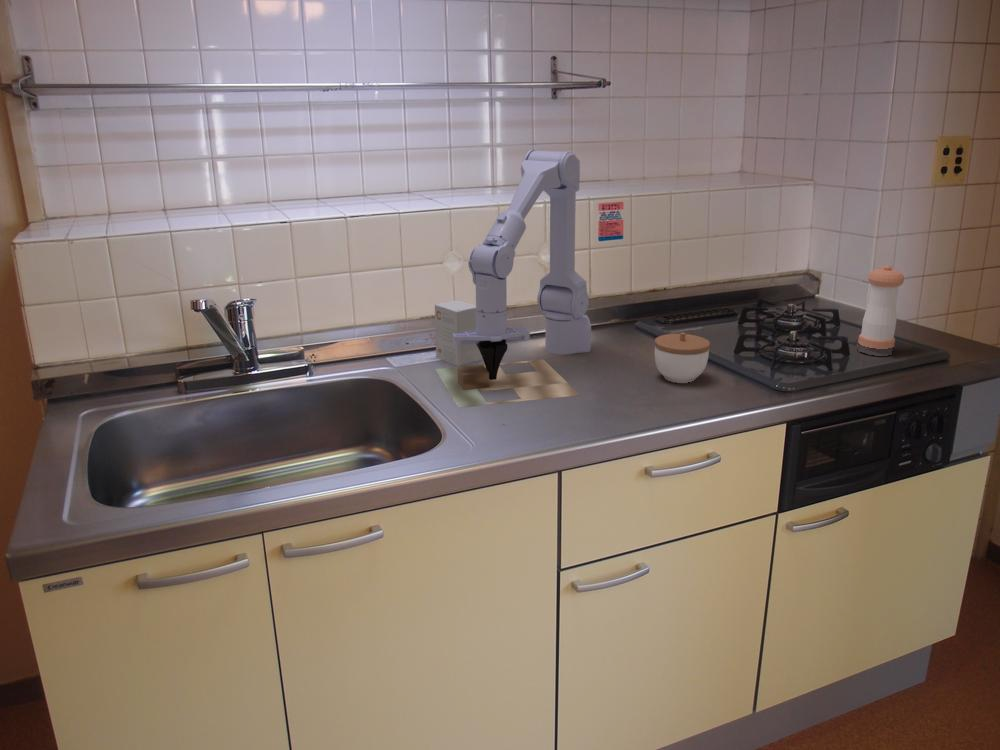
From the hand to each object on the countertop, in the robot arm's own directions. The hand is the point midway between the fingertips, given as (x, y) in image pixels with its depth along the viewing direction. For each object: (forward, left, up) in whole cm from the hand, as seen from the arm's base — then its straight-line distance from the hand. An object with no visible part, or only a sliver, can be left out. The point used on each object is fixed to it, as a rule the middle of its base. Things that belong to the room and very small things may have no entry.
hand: (491, 378), depth 157 cm
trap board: (-3, 0, -2) cm, 3 cm away
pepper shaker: (-87, -1, -3) cm, 87 cm away
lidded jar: (-38, +3, -3) cm, 38 cm away
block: (+4, 0, -1) cm, 4 cm away
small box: (+3, -17, -3) cm, 17 cm away
